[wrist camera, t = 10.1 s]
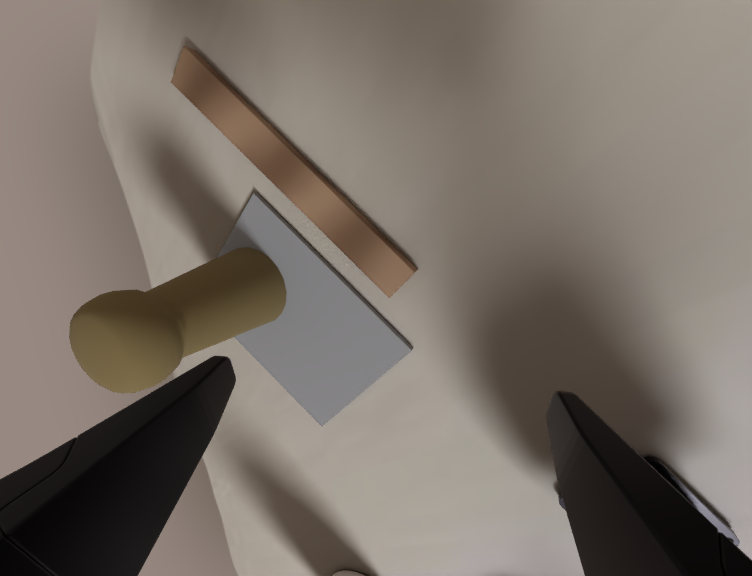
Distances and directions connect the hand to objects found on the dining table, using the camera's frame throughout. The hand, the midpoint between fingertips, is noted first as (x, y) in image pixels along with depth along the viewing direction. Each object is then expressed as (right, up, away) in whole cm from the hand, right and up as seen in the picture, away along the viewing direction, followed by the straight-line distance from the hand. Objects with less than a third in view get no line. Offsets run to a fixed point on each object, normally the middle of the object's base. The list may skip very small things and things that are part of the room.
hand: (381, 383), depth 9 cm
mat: (-6, 0, +16) cm, 17 cm away
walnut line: (-5, +10, +12) cm, 17 cm away
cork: (-9, +3, +16) cm, 19 cm away
